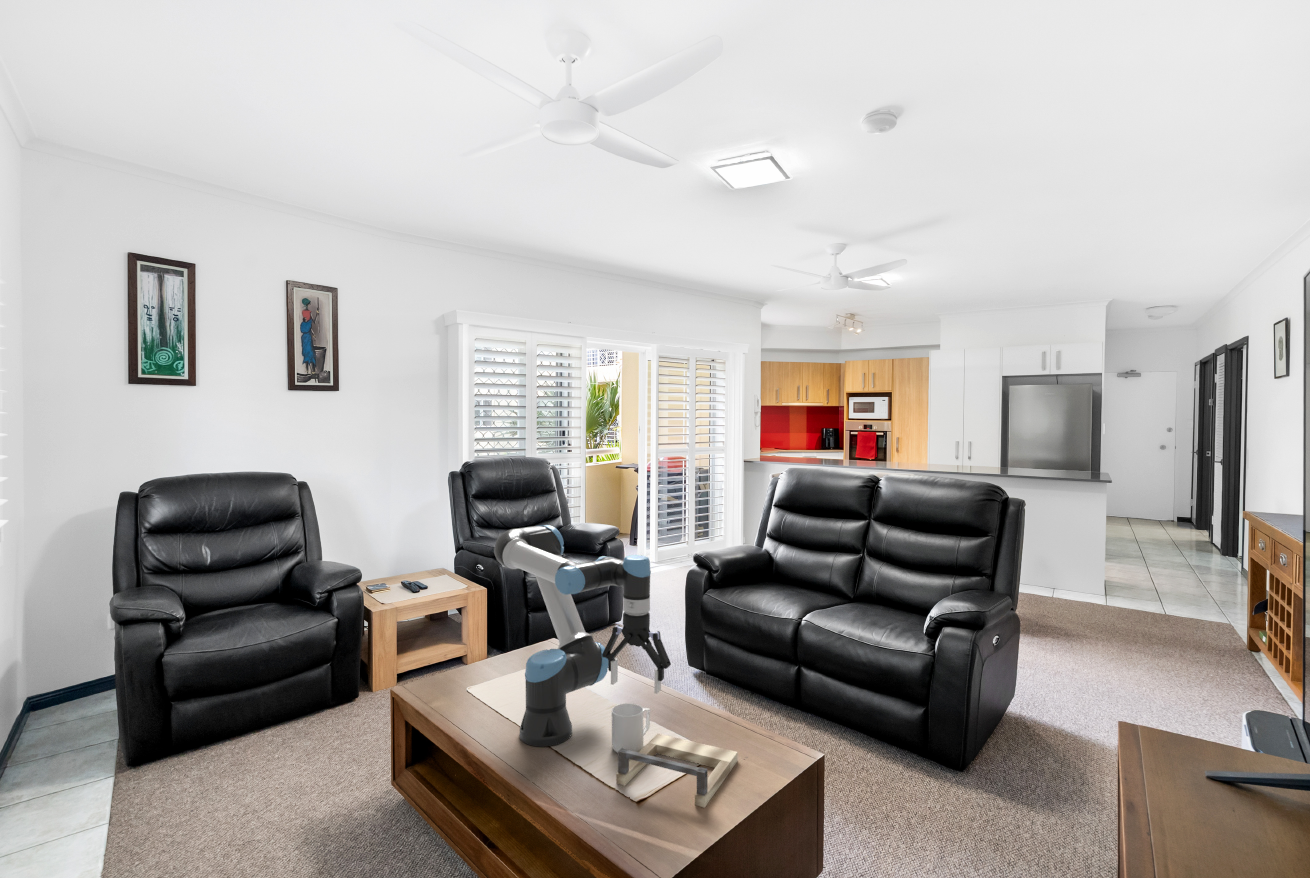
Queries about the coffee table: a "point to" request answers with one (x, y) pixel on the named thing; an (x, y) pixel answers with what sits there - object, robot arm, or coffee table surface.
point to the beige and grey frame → (680, 750)
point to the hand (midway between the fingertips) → (635, 687)
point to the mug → (629, 726)
